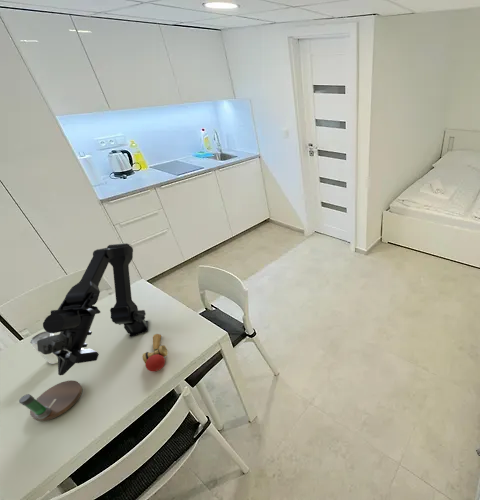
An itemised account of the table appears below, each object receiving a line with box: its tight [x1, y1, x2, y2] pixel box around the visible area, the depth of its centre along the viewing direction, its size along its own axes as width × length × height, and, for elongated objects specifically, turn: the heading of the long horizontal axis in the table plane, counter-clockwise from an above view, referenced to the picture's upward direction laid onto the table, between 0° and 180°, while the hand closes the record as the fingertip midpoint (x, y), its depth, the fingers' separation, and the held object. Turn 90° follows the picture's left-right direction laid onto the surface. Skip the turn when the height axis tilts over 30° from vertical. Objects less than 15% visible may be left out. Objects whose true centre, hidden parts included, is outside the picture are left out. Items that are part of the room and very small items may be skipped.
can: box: [29, 331, 58, 365], centre depth 109 cm, size 6×6×12 cm
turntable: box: [18, 380, 83, 422], centre depth 94 cm, size 13×13×11 cm
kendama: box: [141, 333, 169, 373], centre depth 111 cm, size 8×6×18 cm
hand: (60, 374), depth 93 cm, fingers closed
